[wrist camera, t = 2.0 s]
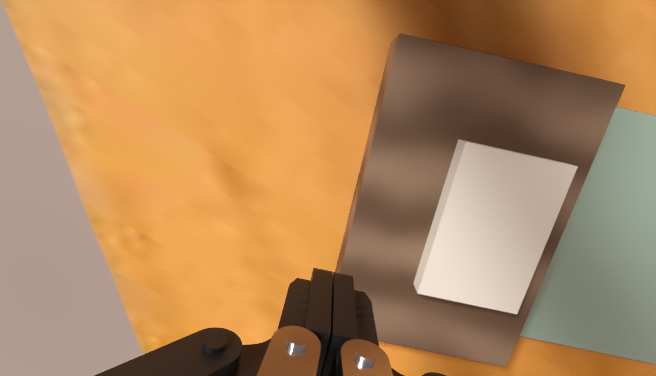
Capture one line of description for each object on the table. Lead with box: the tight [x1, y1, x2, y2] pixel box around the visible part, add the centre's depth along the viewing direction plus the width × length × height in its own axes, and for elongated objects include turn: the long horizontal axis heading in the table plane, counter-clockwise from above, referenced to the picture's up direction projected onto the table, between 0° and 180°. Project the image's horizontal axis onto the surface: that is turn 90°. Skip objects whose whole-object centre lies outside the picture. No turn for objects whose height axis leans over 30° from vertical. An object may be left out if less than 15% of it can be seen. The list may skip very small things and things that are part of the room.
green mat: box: [520, 107, 656, 364], centre depth 30 cm, size 22×16×1 cm
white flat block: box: [413, 139, 578, 314], centre depth 26 cm, size 12×8×2 cm, turn 168°
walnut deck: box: [335, 34, 625, 367], centre depth 28 cm, size 24×16×4 cm, turn 168°
